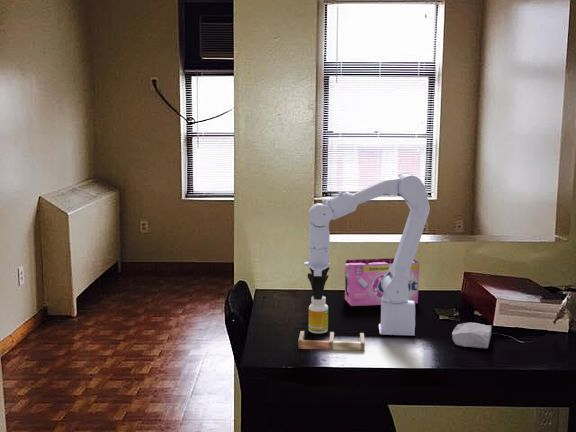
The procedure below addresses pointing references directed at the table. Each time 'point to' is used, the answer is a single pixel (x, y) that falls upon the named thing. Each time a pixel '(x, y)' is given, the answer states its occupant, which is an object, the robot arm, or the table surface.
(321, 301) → the supplement bottle
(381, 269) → the gum box
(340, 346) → the e-shaped wooden frame
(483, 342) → the stone block
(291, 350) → the table surface
